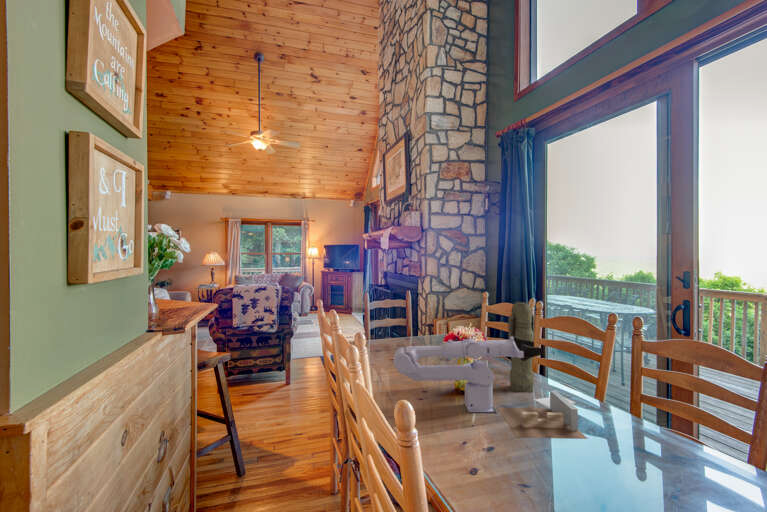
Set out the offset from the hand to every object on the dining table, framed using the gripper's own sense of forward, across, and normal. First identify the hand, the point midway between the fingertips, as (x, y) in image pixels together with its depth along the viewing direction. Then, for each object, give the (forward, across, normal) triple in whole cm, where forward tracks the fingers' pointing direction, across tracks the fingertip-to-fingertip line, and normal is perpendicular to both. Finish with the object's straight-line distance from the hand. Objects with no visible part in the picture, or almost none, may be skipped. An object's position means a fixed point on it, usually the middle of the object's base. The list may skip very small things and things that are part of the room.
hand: (537, 347), depth 123 cm
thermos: (0, +17, +23) cm, 28 cm away
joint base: (-5, -13, +21) cm, 25 cm away
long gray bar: (+4, -11, +20) cm, 23 cm away
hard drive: (+7, +4, +23) cm, 24 cm away
